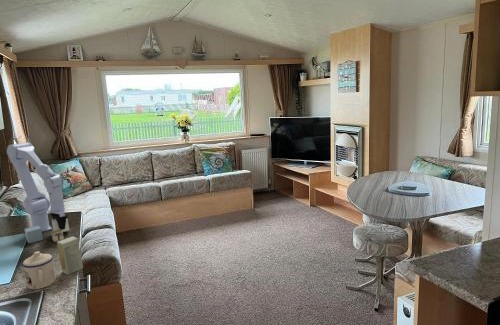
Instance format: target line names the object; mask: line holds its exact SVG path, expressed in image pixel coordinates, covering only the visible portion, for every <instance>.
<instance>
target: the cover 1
mask: <svg viewBox="0 0 500 325" xmlns="http://www.w3.org/2000/svg"><path fill="white" fill-rule="evenodd" d="M24 234H25V240H26V242H27V243H28V244H31V243H36V242H39V241H43V240H44V237H43V231H42V230H41V228H40V227H39V226H34V227H32V226H31V227H26V228H24Z"/></svg>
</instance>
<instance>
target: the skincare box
mask: <svg viewBox="0 0 500 325" xmlns="http://www.w3.org/2000/svg"><path fill="white" fill-rule="evenodd" d="M56 246H57V249H58V256H59V262H60V267H61V272H62V273H63V274H65V275H71V274H73V273H75V272H77V271H78V272H79V270H82V269H83V268H84V266H83V259H82V254H81V248H80V242H79V238H78V237H75V236H74V235H73V236H70V237H67V238H64V239H63V240H60V241H56Z"/></svg>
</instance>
